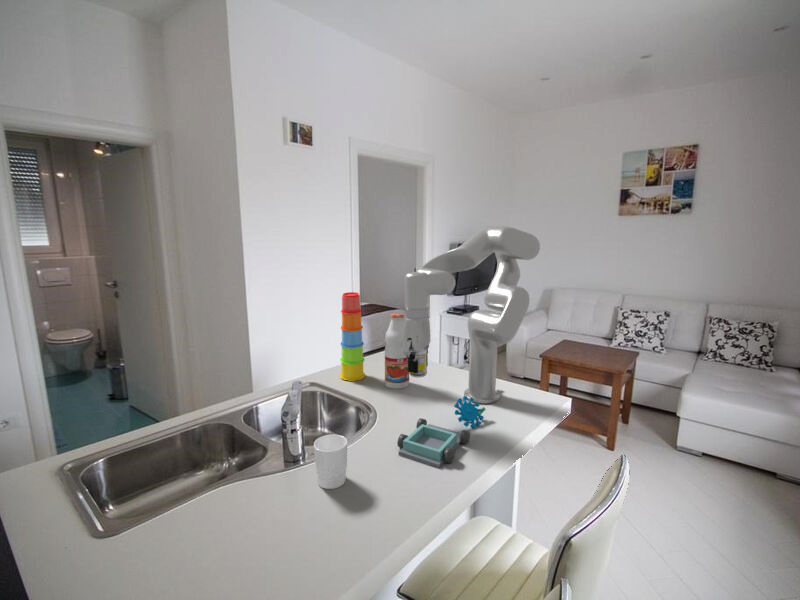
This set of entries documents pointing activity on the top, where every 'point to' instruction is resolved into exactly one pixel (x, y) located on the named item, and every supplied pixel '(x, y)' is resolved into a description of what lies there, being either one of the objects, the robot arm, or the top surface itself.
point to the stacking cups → (351, 338)
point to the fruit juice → (395, 354)
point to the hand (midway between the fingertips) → (417, 368)
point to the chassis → (431, 444)
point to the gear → (469, 411)
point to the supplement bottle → (420, 363)
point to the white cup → (331, 460)
